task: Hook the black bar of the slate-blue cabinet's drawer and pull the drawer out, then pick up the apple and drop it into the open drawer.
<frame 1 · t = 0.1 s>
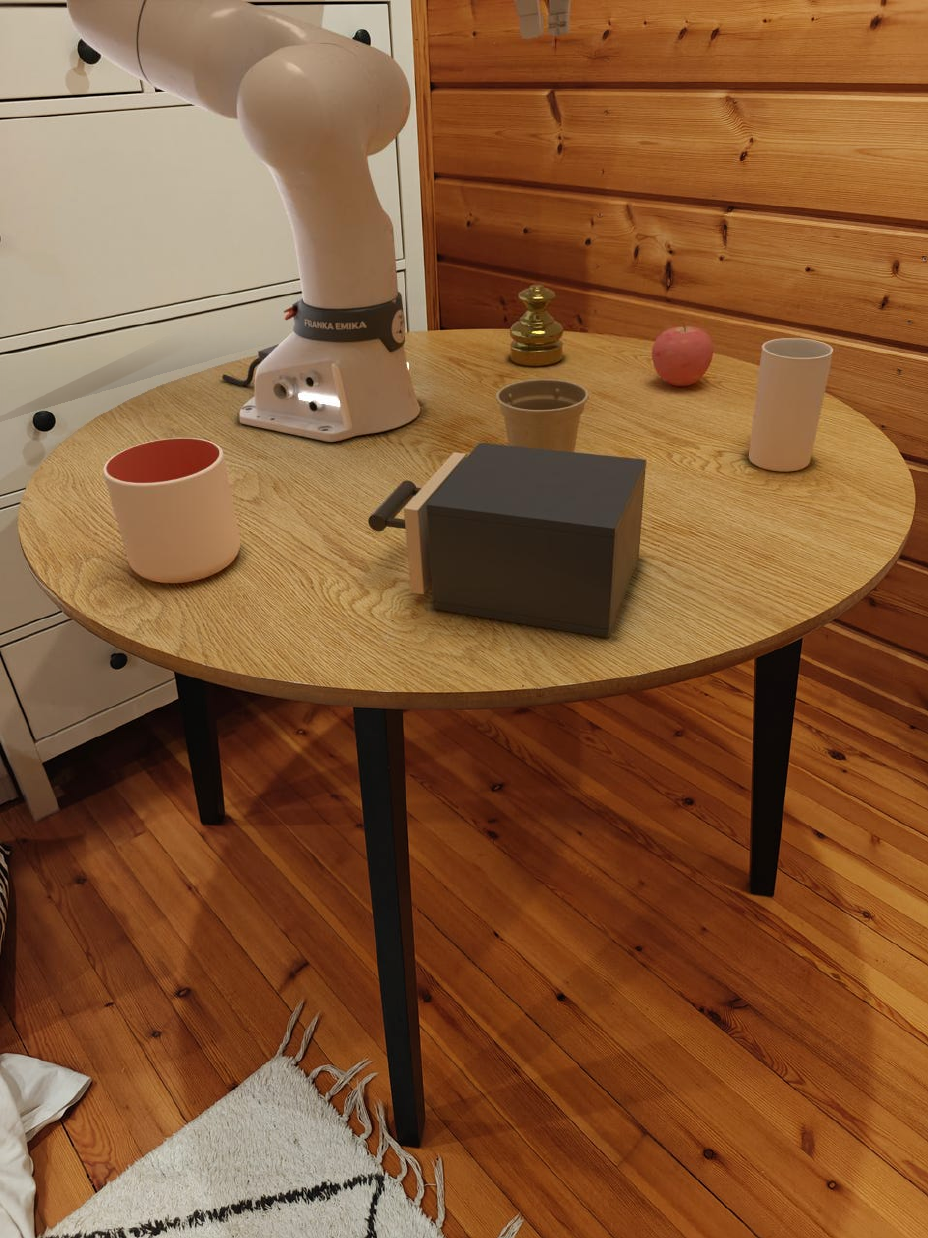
hand: (546, 36, 84), 39 cm above the table, tool pointing down, fingers open, 8 cm apart
gold chess piece: (536, 360, 128), on the table
cup: (188, 562, 83), on the table
flower pot: (540, 474, 96), on the table
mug: (773, 455, 98), on the table
drawer: (483, 526, 76), point 5 cm above the table, slide at 1.0 cm
cabinet: (539, 584, 77), on the table
apple: (679, 385, 117), on the table
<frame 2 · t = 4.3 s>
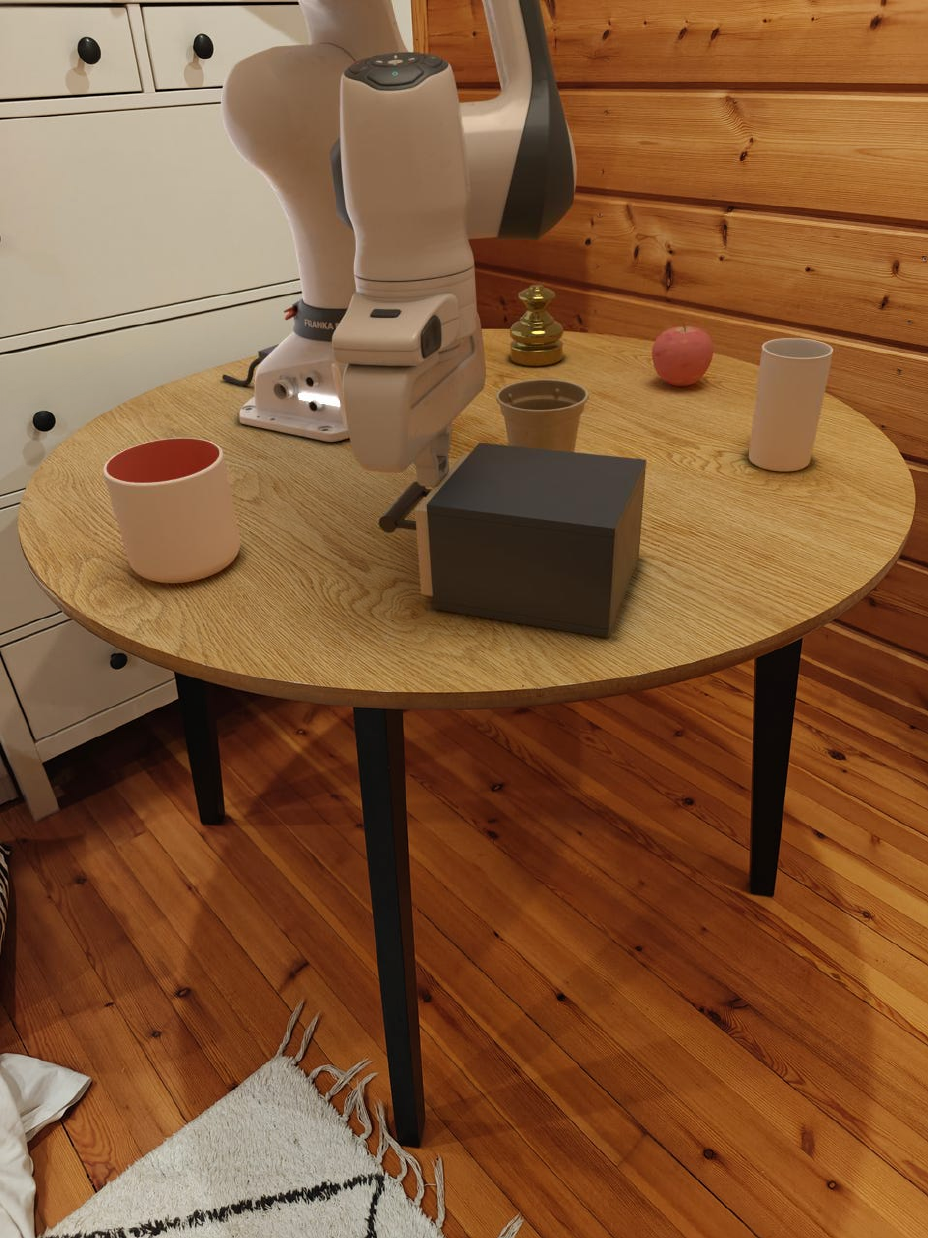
hand: (433, 480, 75), 9 cm above the table, tool pointing down, fingers closed, pressing on drawer
drawer: (493, 528, 75), point 5 cm above the table, slide at 0.0 cm, touching gripper
everything else where it was.
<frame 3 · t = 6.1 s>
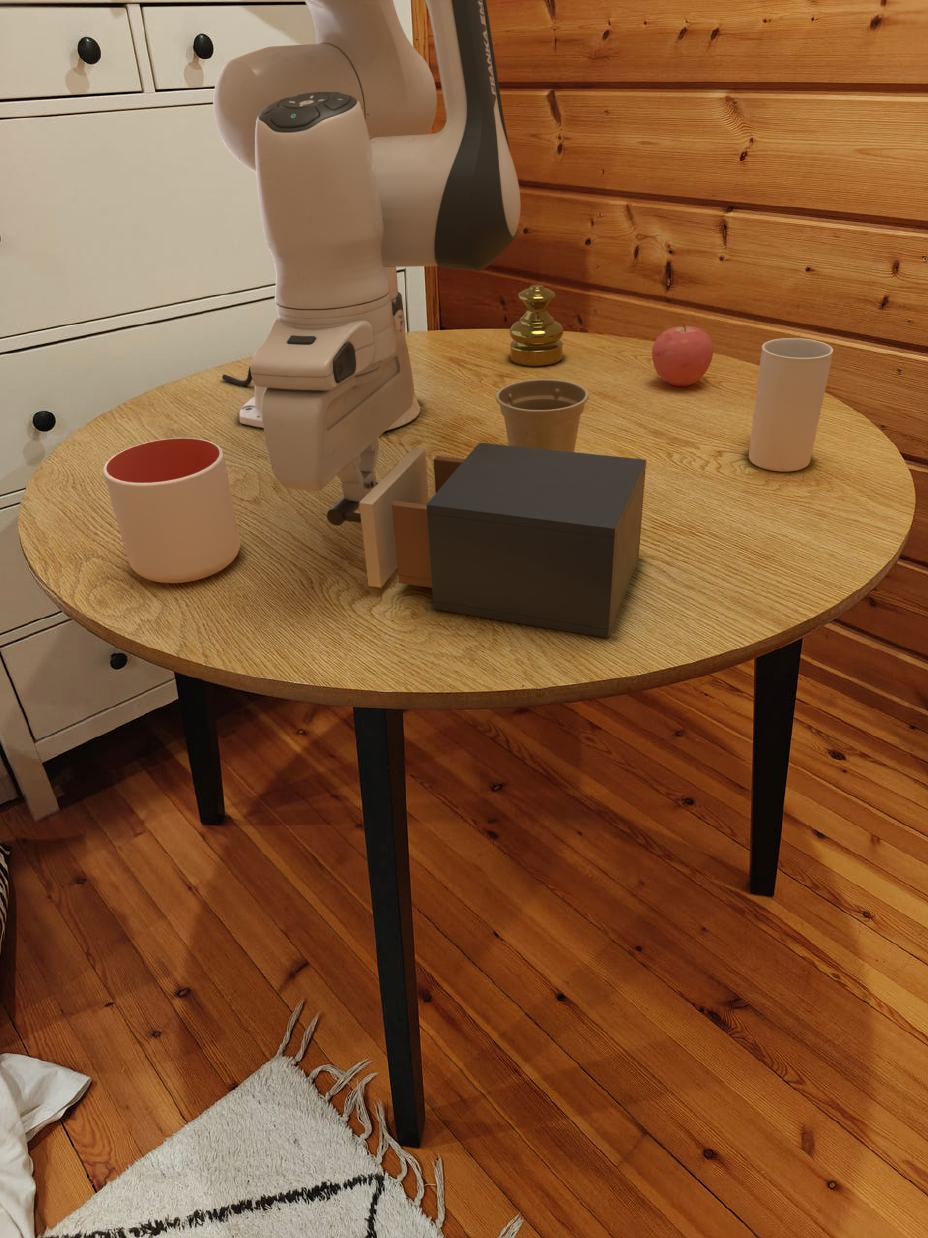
hand: (360, 494, 78), 6 cm above the table, tool pointing down, fingers closed, pressing on drawer
drawer: (440, 521, 77), point 5 cm above the table, slide at 4.9 cm, touching gripper
everything else where it was.
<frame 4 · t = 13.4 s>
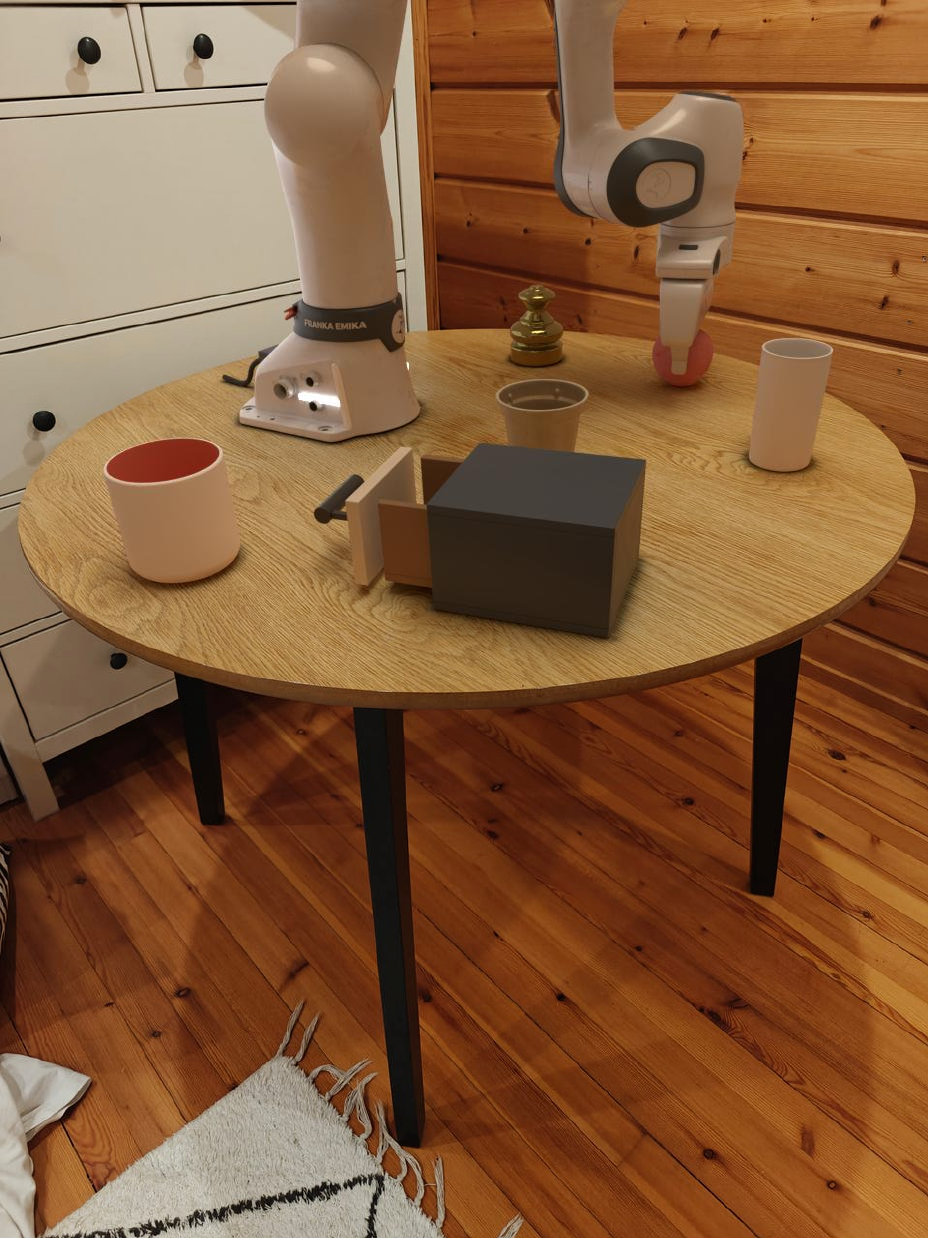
hand: (684, 361, 115), 3 cm above the table, tool pointing down, fingers closed on apple, 7 cm apart
drawer: (426, 519, 77), point 5 cm above the table, slide at 6.1 cm
apple: (679, 385, 117), on the table, touching gripper
everything else where it was.
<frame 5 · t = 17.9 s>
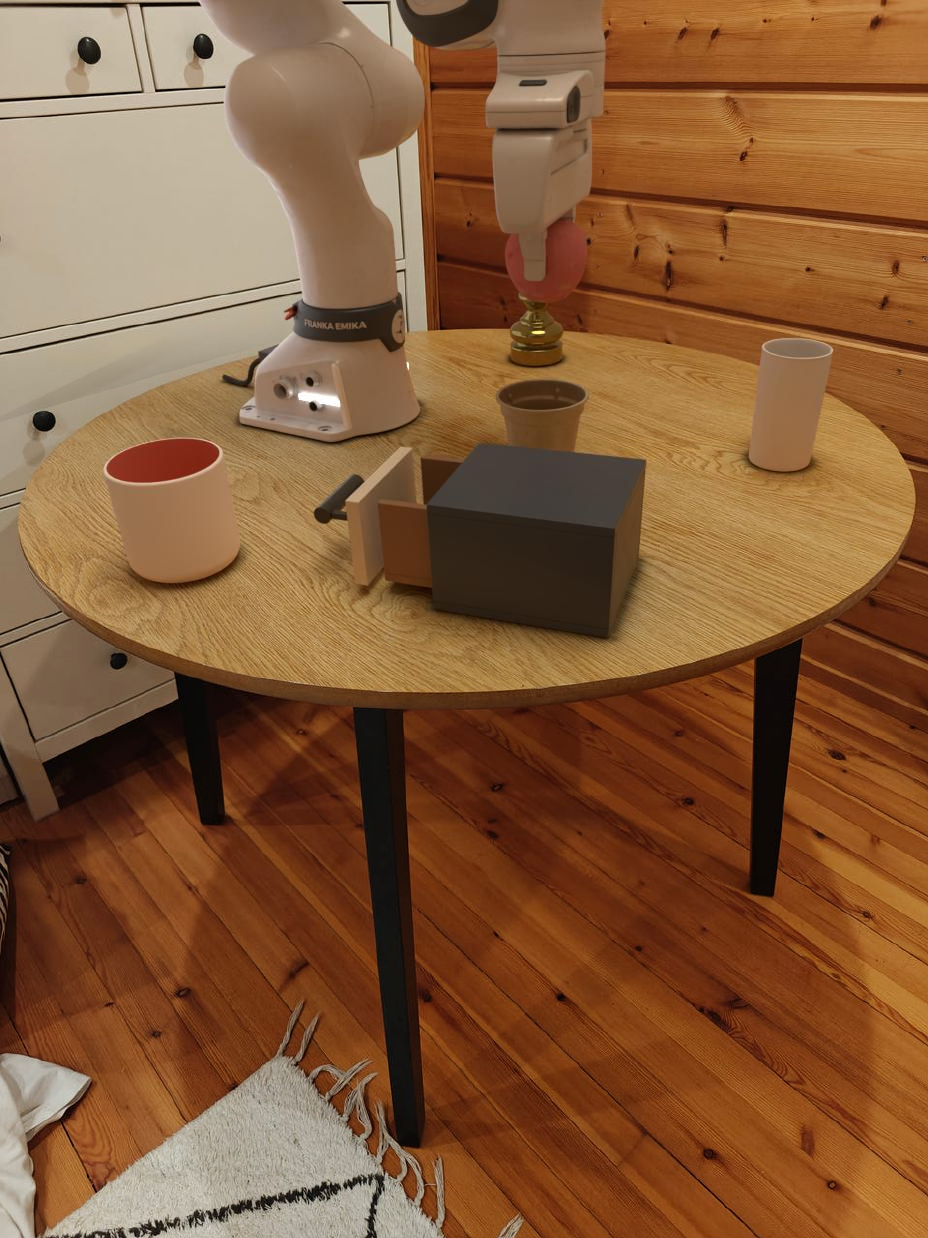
hand: (548, 267, 83), 21 cm above the table, tool pointing down, fingers closed on apple, 7 cm apart
apple: (545, 303, 85), point 18 cm above the table, touching gripper
everything else where it was.
when the fingers open (9 cm above the table, at t = 22.6 s): apple stays where it is, point 7 cm above the table.
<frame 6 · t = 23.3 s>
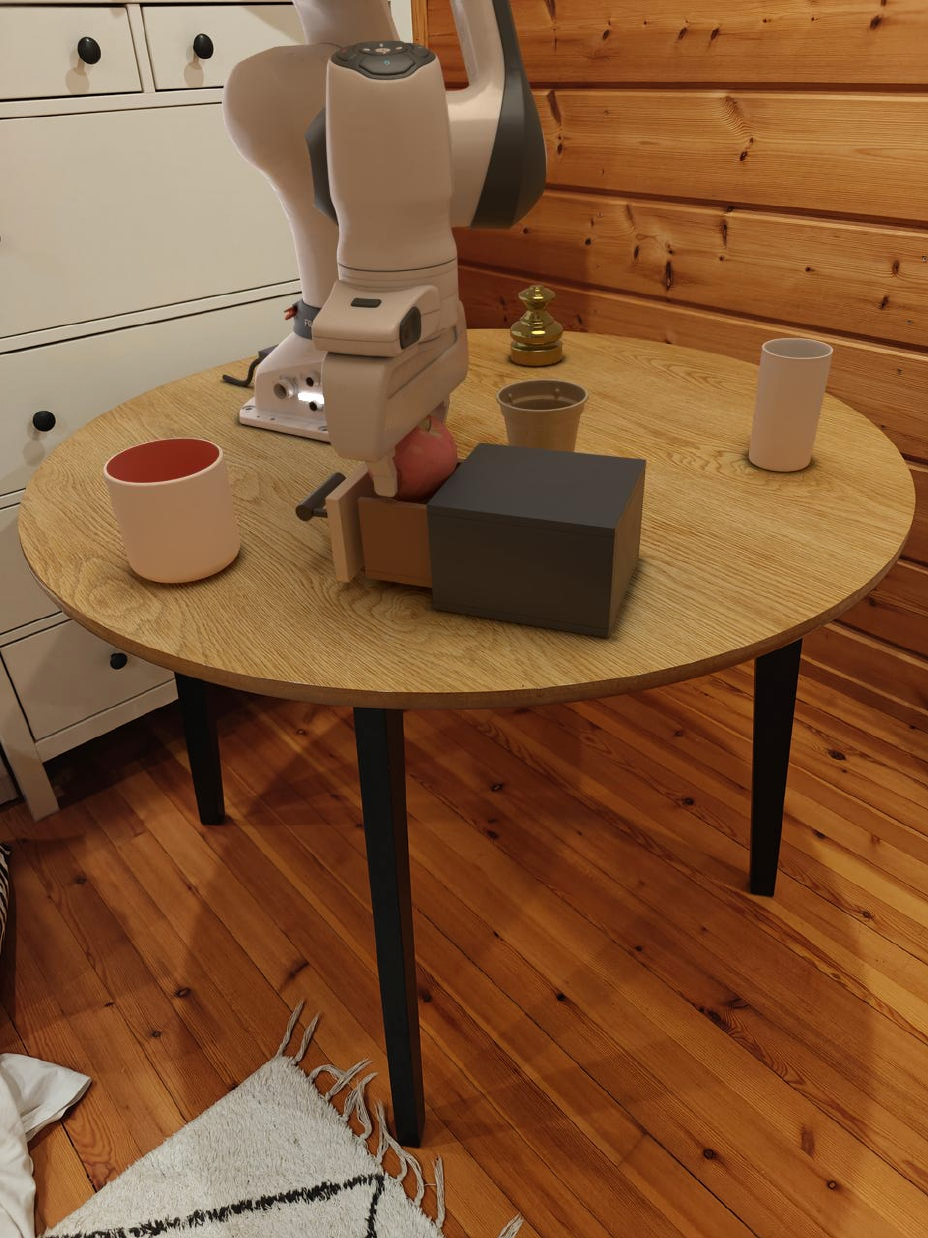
hand: (412, 468, 75), 9 cm above the table, tool pointing down, fingers open, 8 cm apart
drawer: (407, 516, 78), point 5 cm above the table, slide at 7.9 cm
apple: (388, 489, 77), point 7 cm above the table, touching gripper
everything else where it was.
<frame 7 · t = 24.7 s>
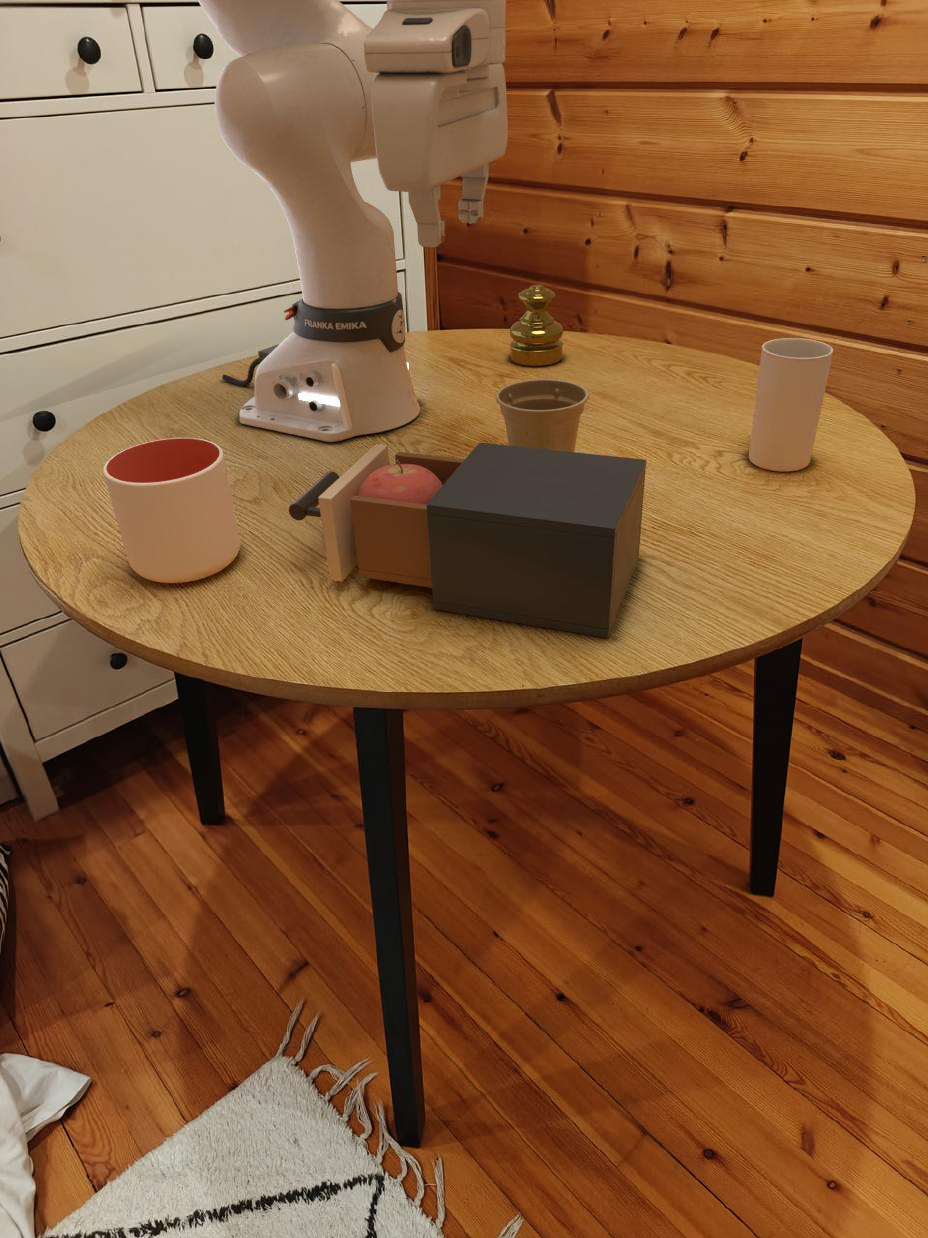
hand: (452, 233, 76), 25 cm above the table, tool pointing down, fingers open, 8 cm apart
drawer: (400, 516, 78), point 5 cm above the table, slide at 8.5 cm, touching apple
apple: (403, 549, 79), point 2 cm above the table, touching drawer
everything else where it was.
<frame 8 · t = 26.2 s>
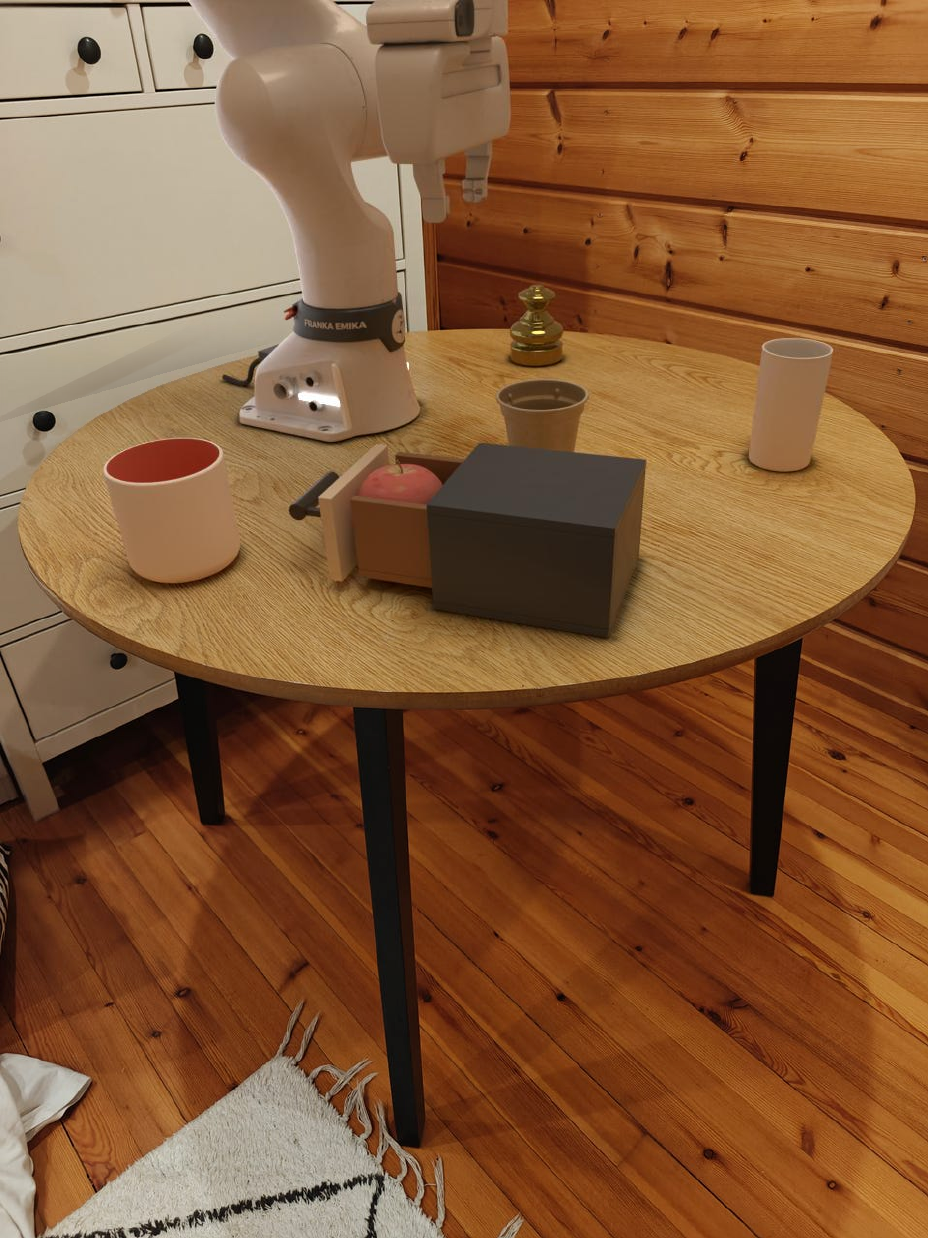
hand: (457, 210, 75), 27 cm above the table, tool pointing down, fingers open, 8 cm apart
nothing on the table moved.
at the end: drawer slide at 8.5 cm; apple inside the target area in the cabinet (7.2 cm from its centre), point 2.1 cm above the cabinet's base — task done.
